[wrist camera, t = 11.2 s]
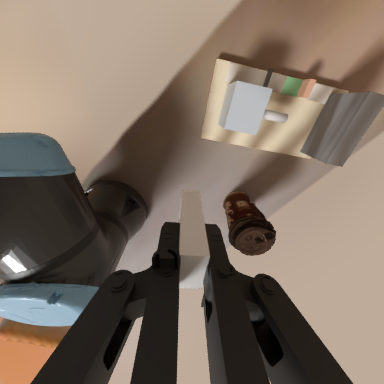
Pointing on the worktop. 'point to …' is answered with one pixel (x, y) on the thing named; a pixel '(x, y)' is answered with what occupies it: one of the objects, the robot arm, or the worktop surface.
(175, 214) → the worktop surface
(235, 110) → the block
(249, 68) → the board
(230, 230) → the coffee cup
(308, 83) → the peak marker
